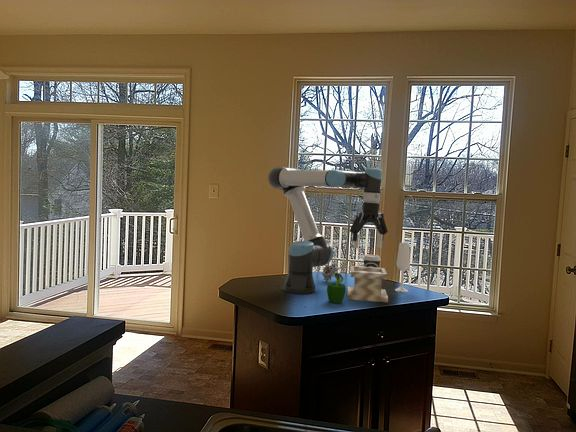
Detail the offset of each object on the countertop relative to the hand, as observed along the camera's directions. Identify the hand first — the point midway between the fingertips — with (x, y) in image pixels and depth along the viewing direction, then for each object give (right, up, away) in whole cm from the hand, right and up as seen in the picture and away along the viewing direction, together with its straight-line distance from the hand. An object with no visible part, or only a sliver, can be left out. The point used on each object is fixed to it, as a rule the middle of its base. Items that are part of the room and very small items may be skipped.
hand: (367, 248), depth 212 cm
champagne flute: (+21, -23, +20) cm, 37 cm away
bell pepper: (-16, -23, -10) cm, 30 cm away
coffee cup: (+7, -22, +34) cm, 41 cm away
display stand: (0, -23, +4) cm, 23 cm away
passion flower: (-13, -21, +34) cm, 42 cm away
